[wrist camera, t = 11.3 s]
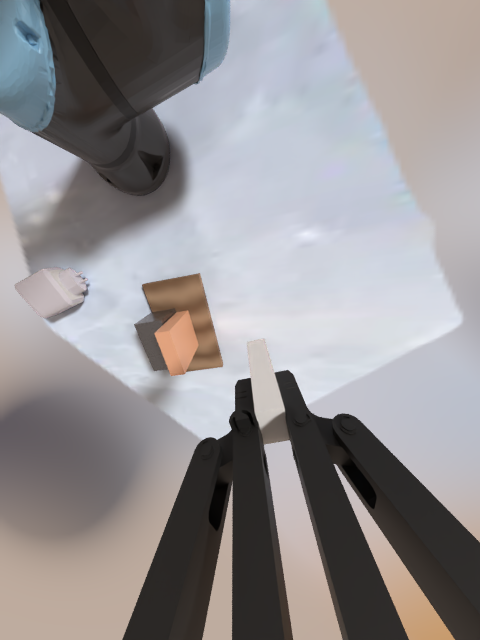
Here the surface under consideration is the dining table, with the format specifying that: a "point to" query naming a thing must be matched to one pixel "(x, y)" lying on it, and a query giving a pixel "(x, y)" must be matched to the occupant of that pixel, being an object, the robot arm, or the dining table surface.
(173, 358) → the orange block
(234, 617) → the robot arm
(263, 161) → the dining table surface
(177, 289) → the base board
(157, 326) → the socket
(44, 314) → the charger
